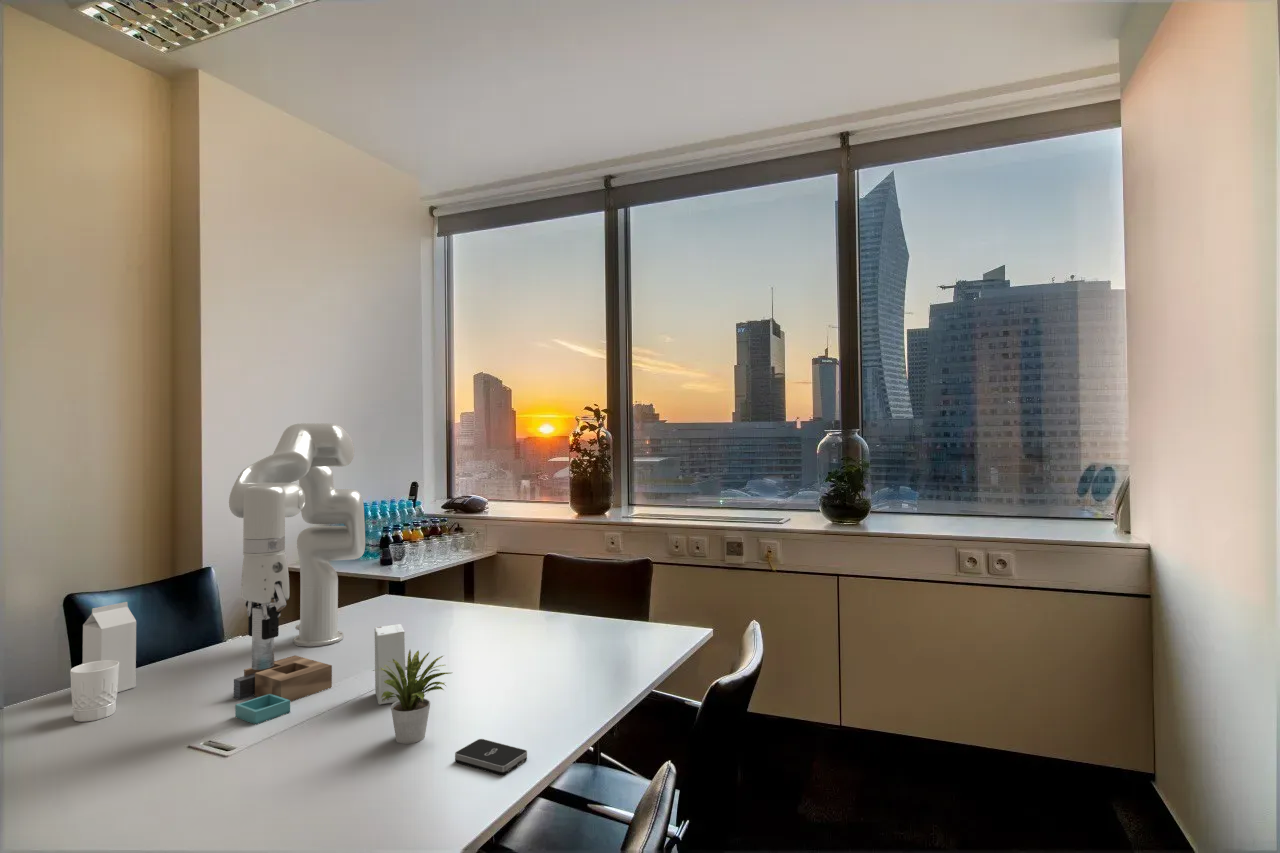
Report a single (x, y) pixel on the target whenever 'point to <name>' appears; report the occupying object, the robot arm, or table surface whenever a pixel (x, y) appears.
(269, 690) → the socket block
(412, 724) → the house plant
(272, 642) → the peg
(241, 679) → the bar
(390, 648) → the skincare box
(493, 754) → the external hard drive
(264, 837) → the table surface
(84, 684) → the white cup
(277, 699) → the tray
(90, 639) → the milk carton
